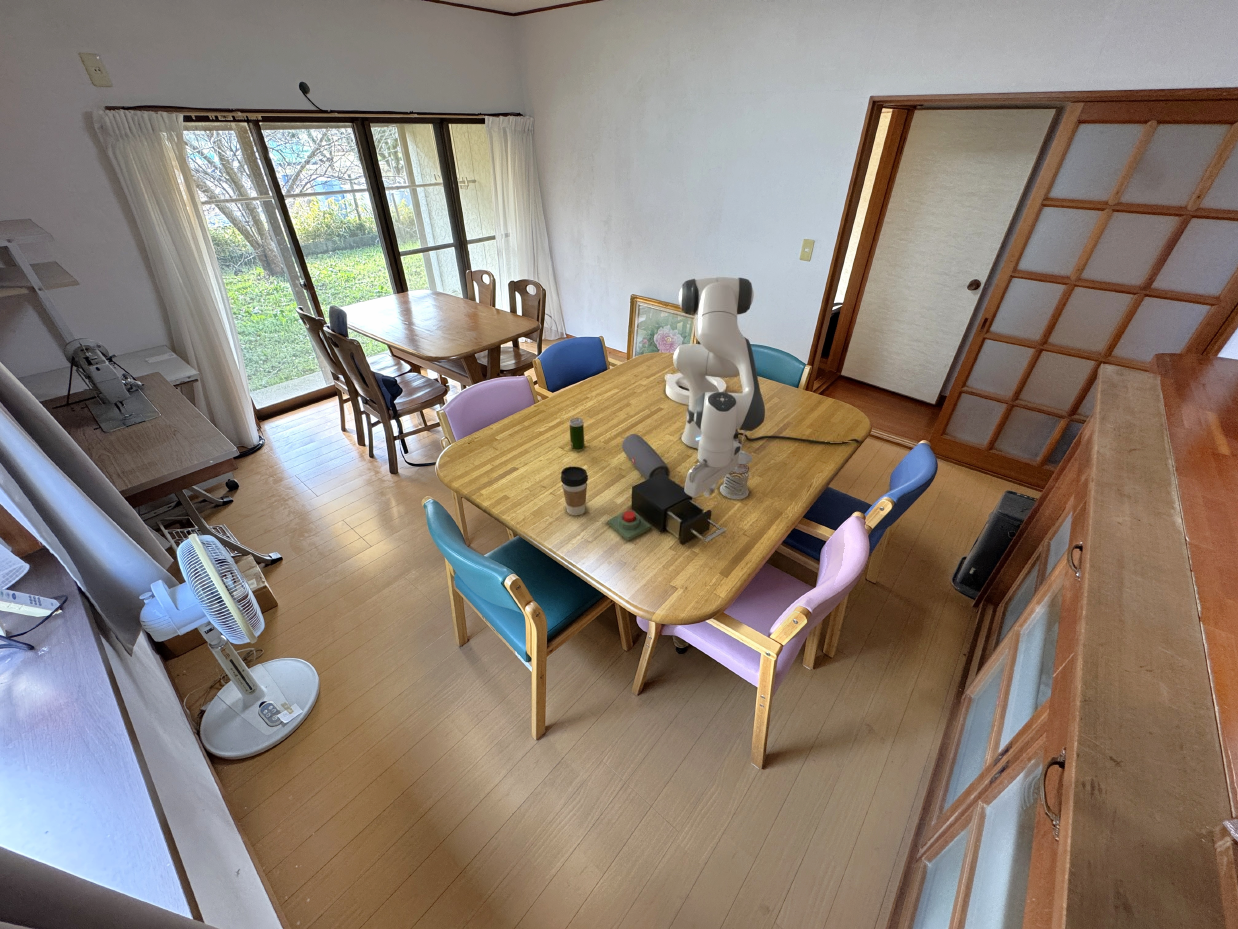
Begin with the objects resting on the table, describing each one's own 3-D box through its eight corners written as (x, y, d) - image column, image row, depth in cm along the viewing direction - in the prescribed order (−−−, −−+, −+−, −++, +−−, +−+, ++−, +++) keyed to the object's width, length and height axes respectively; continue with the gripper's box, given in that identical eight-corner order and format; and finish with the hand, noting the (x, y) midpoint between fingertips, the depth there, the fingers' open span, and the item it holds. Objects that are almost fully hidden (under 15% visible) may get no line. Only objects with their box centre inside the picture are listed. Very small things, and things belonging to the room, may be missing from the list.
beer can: (575, 452, 185) (573, 425, 179) (568, 446, 189) (566, 419, 182) (587, 448, 188) (586, 421, 181) (580, 442, 192) (579, 416, 185)
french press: (742, 502, 161) (755, 438, 147) (710, 491, 166) (719, 428, 152) (752, 487, 167) (765, 425, 153) (721, 477, 173) (730, 415, 159)
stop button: (637, 519, 148) (637, 515, 147) (628, 524, 147) (628, 519, 146) (630, 513, 151) (630, 509, 150) (621, 518, 149) (621, 513, 148)
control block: (650, 529, 149) (650, 520, 147) (627, 541, 145) (628, 532, 143) (630, 512, 156) (630, 504, 154) (607, 523, 151) (607, 515, 149)
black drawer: (727, 542, 143) (730, 524, 139) (700, 559, 137) (703, 540, 133) (678, 507, 157) (680, 489, 153) (652, 521, 151) (653, 503, 147)
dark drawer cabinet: (690, 516, 154) (693, 494, 149) (661, 532, 148) (662, 509, 143) (660, 494, 164) (661, 472, 159) (631, 508, 158) (631, 486, 152)
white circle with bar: (729, 406, 219) (730, 396, 216) (667, 405, 219) (668, 395, 217) (719, 380, 242) (720, 371, 240) (663, 379, 242) (664, 371, 240)
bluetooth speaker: (620, 458, 183) (620, 435, 177) (642, 452, 186) (643, 430, 180) (646, 491, 165) (647, 467, 160) (670, 485, 168) (672, 461, 163)
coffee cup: (563, 502, 160) (560, 464, 152) (588, 501, 161) (587, 463, 152) (562, 518, 153) (560, 480, 145) (589, 517, 154) (588, 479, 145)
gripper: (701, 474, 119) (695, 516, 127) (745, 442, 132) (738, 483, 139) (680, 464, 123) (677, 506, 131) (726, 434, 135) (720, 474, 143)
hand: (709, 494), depth 135 cm, fingers closed
